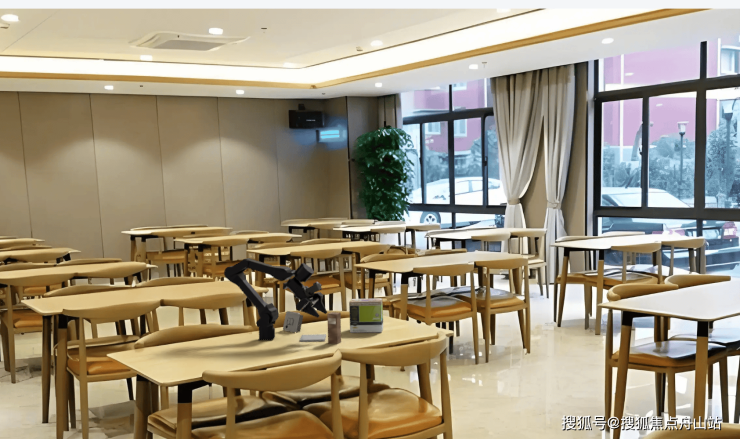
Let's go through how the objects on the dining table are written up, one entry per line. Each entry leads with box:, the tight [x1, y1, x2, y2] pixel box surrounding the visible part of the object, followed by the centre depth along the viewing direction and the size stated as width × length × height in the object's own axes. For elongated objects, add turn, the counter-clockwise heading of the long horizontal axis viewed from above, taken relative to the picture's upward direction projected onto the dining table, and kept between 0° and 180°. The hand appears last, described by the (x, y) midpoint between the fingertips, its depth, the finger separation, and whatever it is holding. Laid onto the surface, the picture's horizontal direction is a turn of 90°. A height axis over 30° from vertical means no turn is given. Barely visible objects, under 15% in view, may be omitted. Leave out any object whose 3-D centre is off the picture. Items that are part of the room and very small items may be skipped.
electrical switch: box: [282, 310, 304, 333], centre depth 340 cm, size 9×5×9 cm, turn 46°
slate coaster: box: [299, 333, 327, 343], centre depth 321 cm, size 11×11×1 cm
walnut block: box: [326, 311, 342, 345], centre depth 312 cm, size 4×5×13 cm
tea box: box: [348, 297, 384, 333], centre depth 337 cm, size 15×10×15 cm
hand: (322, 315), depth 313 cm, fingers open, 9 cm apart
